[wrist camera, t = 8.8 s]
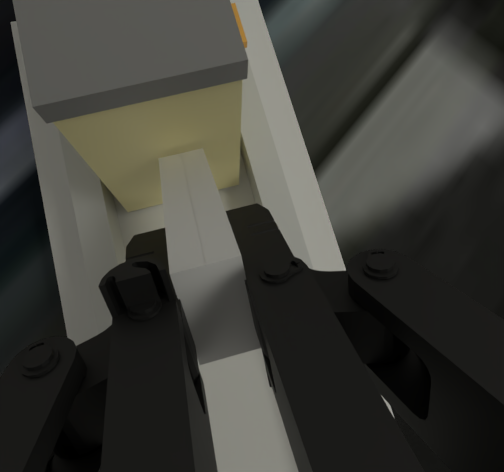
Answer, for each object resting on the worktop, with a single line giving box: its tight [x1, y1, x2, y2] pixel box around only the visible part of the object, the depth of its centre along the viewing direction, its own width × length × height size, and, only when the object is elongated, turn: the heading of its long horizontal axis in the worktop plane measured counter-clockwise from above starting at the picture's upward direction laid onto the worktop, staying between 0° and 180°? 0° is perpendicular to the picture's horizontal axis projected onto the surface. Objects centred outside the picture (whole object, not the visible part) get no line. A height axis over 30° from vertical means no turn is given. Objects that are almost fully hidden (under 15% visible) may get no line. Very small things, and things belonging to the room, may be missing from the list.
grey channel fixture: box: [10, 0, 394, 472], centre depth 16 cm, size 12×28×10 cm, turn 16°
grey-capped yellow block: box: [13, 0, 248, 212], centre depth 15 cm, size 5×5×9 cm
